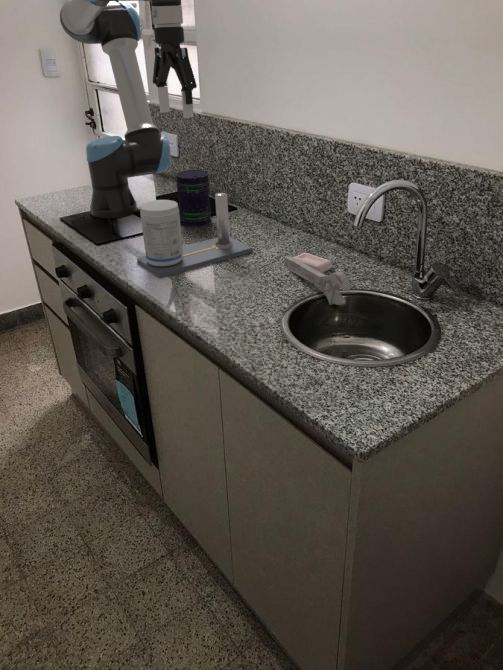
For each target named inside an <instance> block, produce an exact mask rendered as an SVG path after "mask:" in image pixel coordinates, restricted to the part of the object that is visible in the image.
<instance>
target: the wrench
mask: <svg viewBox="0 0 503 670" xmlns="http://www.w3.org/2000/svg"><path fill="white" fill-rule="evenodd" d="M293 257H294V256H286V257H284V259H283V263H284V264H283V265H284V267H285V268H286V270H288V271H289V272H292V273H294V274H296V275H297V276H299V277H301V278H302V279H304V280H305V281H308V282H309V283H311V284H313V285H315V286H316V287H318V288H319V289H320V290H321V291H322V292H323V294H324V296H325V297H326V298H327V302H328V305H330V306H332V305H336V306H343V305H346V302H347V300H346V298H345V297H344V296H343V295H342V293H341V291H342V292H347V291H350V290H351V286H350V285H351V283H350V281H349V279H348V277H347V276H346V274H345V273H344V272H342V271H338V272H333V273H330V274H327V275H326V274H324V272H322V273H321V272H319V271H317V270H315V269H314V268H312V267H310V266H308V265H306V264H304V263H303V262H301V261H299V260H297V259H295V258H293ZM340 289H341V291H340Z"/></svg>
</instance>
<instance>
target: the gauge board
mask: <svg viewBox="0 0 503 670" xmlns="http://www.w3.org/2000/svg"><path fill="white" fill-rule="evenodd" d="M229 239H230V241H231V242H232V246H230V247H227V248H220V247H217V246H216V244H215V243H216V242H218V236H217V237H214V238H210V239H207V240H202V241H198V242H195V243H190V244H186V245H182V249H183V259H182V260H181V261H180V262H179V263H177V264H175V265H171V266H154V265H151V264H149V263H148V262H147V259H146V255H144V256H141V257H137V258H136V260H137V261H136V262H137V264H139V265H140V266H142V267H143V268H145V269H146V270H147V271H149V272H150V273H152V274H153V275H154V276H156V277H157V278H159V279H163V278H165V277H169V276H174V275H177V274H179V273H180V274H181V273H184V272H187V271H191V270H193V269H197V268H200V267H204V266H208V265H211V264H214V263H218V262H222V261H225V260H226V261H227V260H229V259H232V258H237V257H240V256H242V255H246V254H249V253H253V247H252V246H250V245H248V244H245V243H243V242H242V241H239V240H238V239H236V238H234V237H231V236H230V235H229Z"/></svg>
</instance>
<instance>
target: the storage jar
mask: <svg viewBox="0 0 503 670" xmlns="http://www.w3.org/2000/svg"><path fill="white" fill-rule="evenodd" d="M175 176H176V188H177V194H178V201H179V202H178V204H179V205H178V209H179V216H180V226H183V227H187V228H200V227H205V226H208V225H209V223H210V222H212V218H211V216H212V215H211V214H212V210H211V209H212V208H211V203H210V194H209V193H210V182H209V172H208V171H206V170H201V169H188V170H182V171H179V172H177V173H176V174H175ZM210 224H211V223H210Z"/></svg>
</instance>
